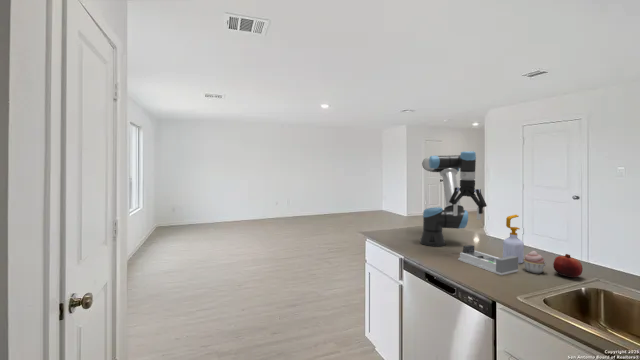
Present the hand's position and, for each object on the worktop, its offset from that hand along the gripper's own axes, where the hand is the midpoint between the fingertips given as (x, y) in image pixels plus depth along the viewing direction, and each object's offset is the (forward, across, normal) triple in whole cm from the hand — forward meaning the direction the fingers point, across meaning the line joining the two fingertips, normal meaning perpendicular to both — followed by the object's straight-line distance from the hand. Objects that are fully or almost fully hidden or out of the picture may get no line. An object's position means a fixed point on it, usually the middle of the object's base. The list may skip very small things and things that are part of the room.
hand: (466, 217), depth 161 cm
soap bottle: (+22, +18, +13) cm, 31 cm away
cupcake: (+22, +31, +5) cm, 38 cm away
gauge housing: (+22, +14, -6) cm, 27 cm away
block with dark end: (+20, +9, -6) cm, 23 cm away
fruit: (+22, +42, +10) cm, 48 cm away
